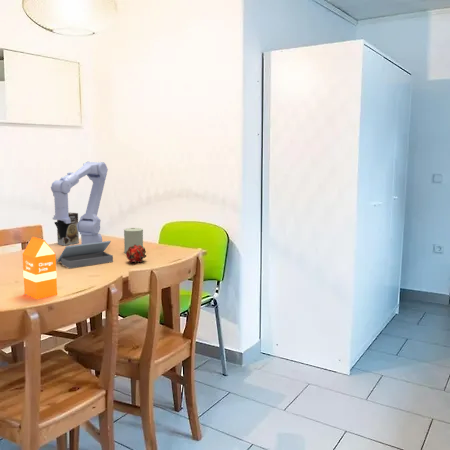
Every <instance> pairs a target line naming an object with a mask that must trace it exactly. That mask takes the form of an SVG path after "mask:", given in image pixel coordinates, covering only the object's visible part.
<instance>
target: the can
mask: <svg viewBox="0 0 450 450" xmlns="http://www.w3.org/2000/svg"><path fill="white" fill-rule="evenodd" d="M143 233H144V229H143V228H140V227H129V228H128V227H127V228H124V229H123V237H124V239H123V240H124V241H123V243H124V246H123V248H124V252H123V253H124V254H125V255H126V252H127V250H128V249H129V247H131V246H134V245H135V244H136V245H138V246H139V245H141V246H142V247H144V234H143Z"/></svg>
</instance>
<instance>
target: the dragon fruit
mask: <svg viewBox="0 0 450 450" xmlns="http://www.w3.org/2000/svg"><path fill="white" fill-rule="evenodd" d="M125 257H126V258H127V260H128V261H129V263H130V264H133V263H132V262H135V263H137V262H138V263H139V262H140V263H142V262H143V259H145V258H146V257H147V254H146V248H145V247H144V246H143V247H142V246H141V245H139V246H138V245H136V244H135V245H134V246H131V247H129V249H128V250H127V252H126V254H125Z"/></svg>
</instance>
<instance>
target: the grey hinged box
mask: <svg viewBox="0 0 450 450" xmlns="http://www.w3.org/2000/svg"><path fill="white" fill-rule="evenodd" d="M109 262H110V263H113V262H114V255H113V254H110V253H108V252H106V251H104V252H100V253H92V254H85V255H78V256H70V257H63V258H61V262H60V263H61V265H62V266H63V267H66V268H67V269H76V268H83V267H89V266H95V265H102V264H108V263H109Z"/></svg>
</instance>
